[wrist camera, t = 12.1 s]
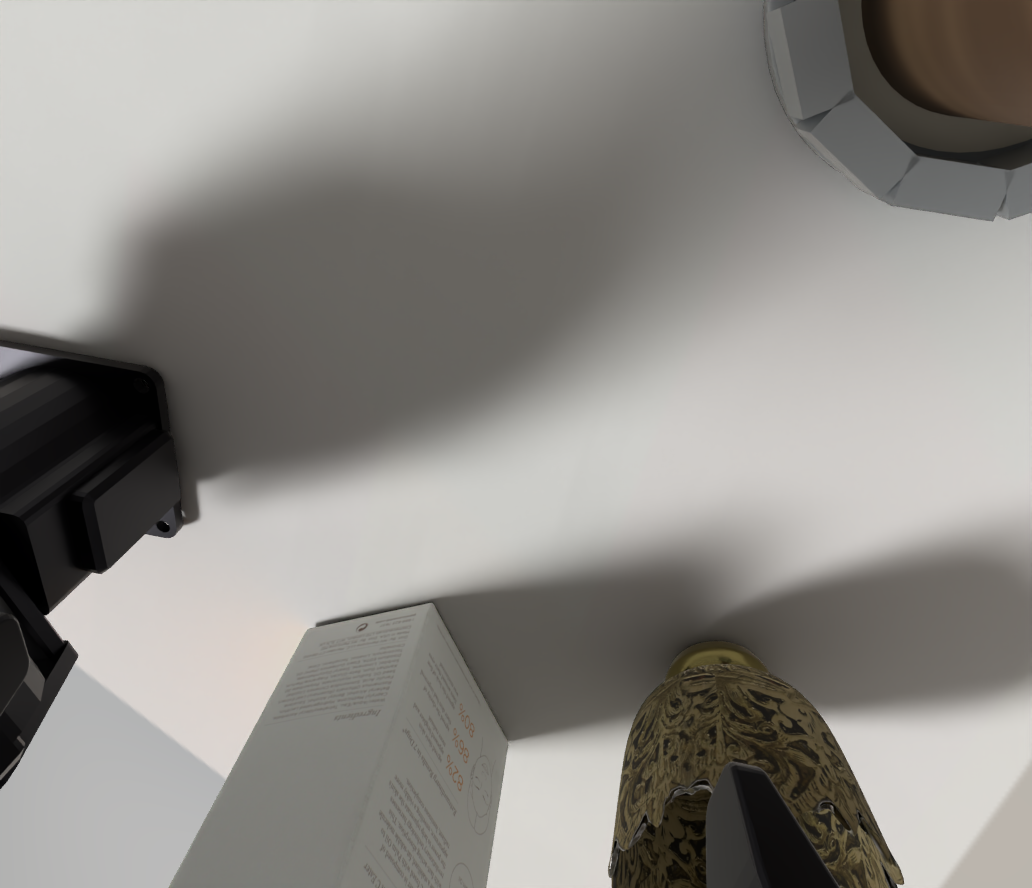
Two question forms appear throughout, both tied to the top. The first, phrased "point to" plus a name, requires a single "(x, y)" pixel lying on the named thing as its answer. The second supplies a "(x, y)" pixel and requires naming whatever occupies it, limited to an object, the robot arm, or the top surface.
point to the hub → (888, 121)
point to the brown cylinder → (956, 55)
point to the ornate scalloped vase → (744, 739)
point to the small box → (361, 769)
